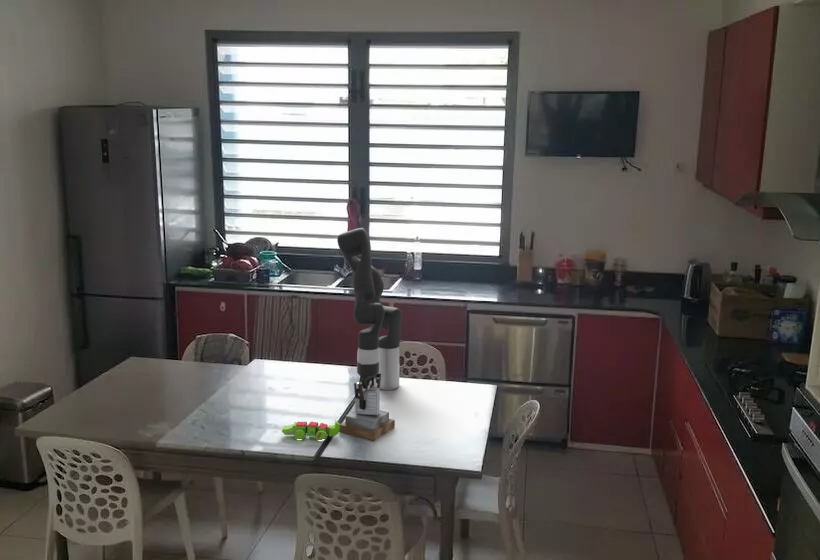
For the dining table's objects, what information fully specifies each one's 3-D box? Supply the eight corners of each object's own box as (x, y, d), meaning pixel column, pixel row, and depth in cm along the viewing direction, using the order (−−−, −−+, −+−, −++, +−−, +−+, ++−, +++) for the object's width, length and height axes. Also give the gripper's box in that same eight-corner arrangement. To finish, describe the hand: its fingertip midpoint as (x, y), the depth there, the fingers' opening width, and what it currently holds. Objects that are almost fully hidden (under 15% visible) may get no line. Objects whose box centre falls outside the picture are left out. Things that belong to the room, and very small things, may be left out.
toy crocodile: (280, 439, 260) (280, 422, 258) (285, 432, 266) (285, 415, 265) (338, 443, 258) (338, 426, 257) (341, 435, 264) (341, 418, 263)
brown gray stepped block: (361, 419, 278) (361, 403, 277) (394, 427, 271) (394, 411, 270) (339, 432, 266) (339, 416, 265) (373, 441, 259) (373, 425, 258)
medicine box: (379, 411, 269) (380, 387, 267) (377, 415, 265) (377, 392, 263) (357, 409, 270) (357, 386, 268) (354, 414, 266) (355, 390, 264)
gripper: (370, 352, 271) (369, 397, 275) (347, 363, 259) (347, 410, 263) (388, 356, 268) (387, 402, 271) (366, 367, 256) (365, 415, 259)
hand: (367, 406), depth 267 cm, fingers open, 5 cm apart
